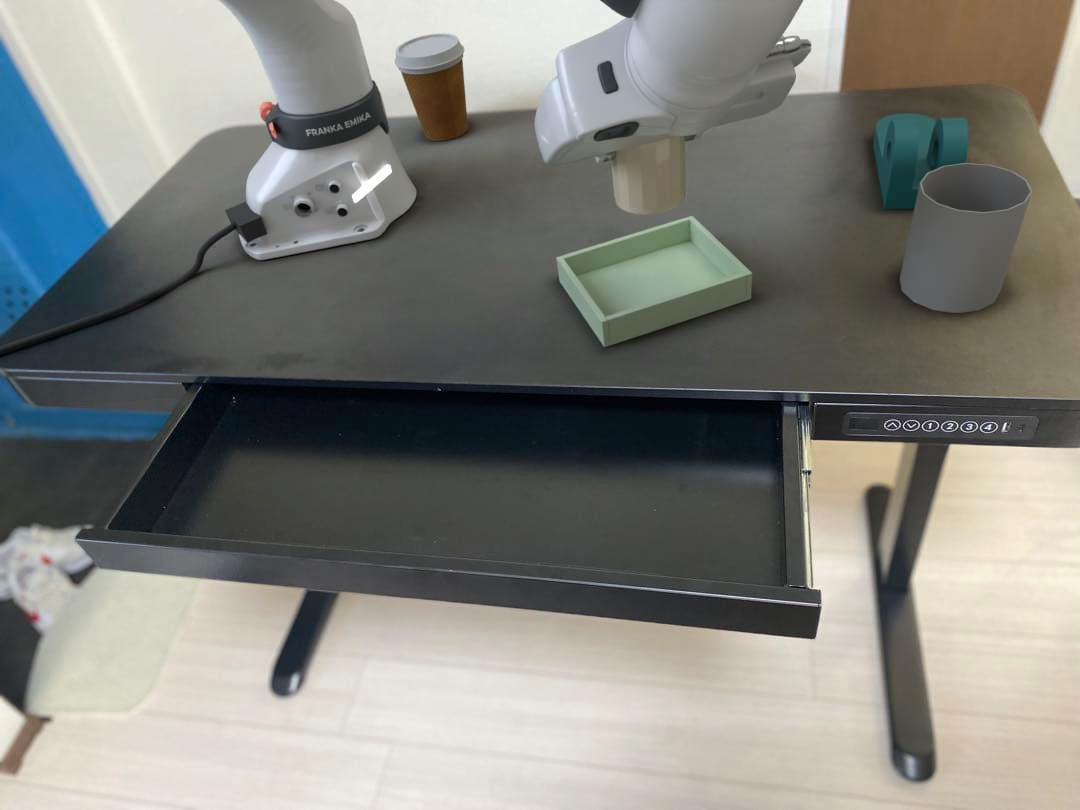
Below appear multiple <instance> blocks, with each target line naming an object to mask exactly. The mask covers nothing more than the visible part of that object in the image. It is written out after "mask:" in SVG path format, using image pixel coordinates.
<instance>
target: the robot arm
mask: <svg viewBox="0 0 1080 810" xmlns="http://www.w3.org/2000/svg"><path fill="white" fill-rule="evenodd" d="M218 1H219V2H220V3H221V4H222V5H223V6H225V8H226V9H227V10H228V11H230V13H231V14H232V15H233V16H234V17H235V18H236V20H237V21H238V22H239V24H240V25H241V26H242V28H243V29H244V31H245V32H246V33H247V35H248V37H249V38H250V40H251V42H252V44H253V46H254V48H255V50H256V52H257V55H258V57H259V59H260V62H261V65H262V67H263V70H264V72H265V74H266V76H267V79H268V82H269V84H270V87H271V89H272V92H273V94H274V97H275V100H276V104H275V103H273V102H271V101H263V102H262V103H261V104H260V105H259V106H260V107H259V108H258V109H259V115H260V118H261V120H262V121H263V122H264V123H265V125H266V128H267V131H268V134H269V136H270V139H271V140H272V142H270V144H269V146H268V147H267V148H266V150H265V151H264V153H263V154H262V155H261V156H260V158H259V159H258V161H257V162H256V163H255V165H254V166H253V167H252V168H251V170H250V172H249V174H248V175H247V179H246V183H245V200H246V201H244V202H241V203H239V204H236V205H234V206H231V207H229V208H227V209H224V211H225V214H226V216H227V218H228V220H229V222H230V224H228V225H227V226H226V227H224V228H222V229H221V230H219V231H218V232H217V233H215V234H213V235H212V236H210V238H207V240H206V241H205V242H204V243H203V244H202V246H200V248H199V250H198V251H197V254H196V258H195V262H194V264H193V266H192V267H190V269H189V270H188V271H186V272H185V273H184V274H183V275H182V276H180V277H179V278H177V279H176V280H174V281H172V282H171V283H169V284H167V285H165V286H162V287H160V288H158V289H155V290H153V291H150V292H147V293H144V294H143V295H140V296H138V297H135V298H133V299H130V300H129V301H126V302H124V303H122V304H119V305H117V306H114V307H112V308H108V309H106V310H103V311H100V312H98V313H94V314H92V315H88V316H85V317H82V318H79V319H76V320H74V321H71V322H68V323H64V324H62V325H59V326H56V327H53V328H50V329H48V330H47V329H46V330H44V331H42V332H38V333H36V334H32V335H30V336H29V335H28V336H27V337H23V338H20V339H18V340H14V341H11V342H8V343H5V344H3V345H0V355H1V354H3V353H6V352H11V351H13V350H16V349H18V348H22V347H25V346H29V345H31V344H35V343H36V342H37V343H38V342H40V341H42V340H45V339H48V338H51V337H54V336H58V335H60V334H64V333H65V332H69V331H72V330H74V329H75V330H76V329H77V328H81V327H82V326H86V325H89V324H92V323H95V322H99V321H101V320H104V319H108V318H110V317H113V316H115V315H118V314H120V313H123V312H126V311H128V310H130V309H132V308H135V307H137V306H140V305H142V304H144V303H146V302H148V301H151V300H153V299H156V298H158V297H161V296H163V295H165V294H167V293H169V292H171V291H173V290H174V289H176V288H178V287H179V286H181V285H182V284H184V283H186V282H188V281H189V280H190V279H192V278H193V277H195V275H196V274H197V273H198V272H199V271H200V269H201V267H202V265H203V263H204V258H205V255H206V254H207V251H209V249H210V248H211V247H212V246H213V245H215V244H216V243H217V242H218V241H220V240H221V239H223V238H225V237H226V236H228V235H229V234H231V233H232V232H233V231H236V232H237V233H238V236H239V241H240V243H241V246H242V248H243V250H244V251H245V253H246V254H247V255H248V256H249V257H251V258H252V259H255V260H257V261H265V260H271V259H274V258H280V257H286V256H291V255H296V254H301V253H302V254H303V253H307V252H312V251H317V250H322V249H327V248H332V247H338V246H343V245H348V244H352V243H353V244H354V243H359V242H363V241H364V242H365V241H370V240H374V239H377V238H378V237H381V235H383V233H385V231H386V230H387V229H388V227H389V225H390V224H391V223H393V222H394V221H396V219H398V218H399V217H401V216H402V215H404V214H405V213H407V211H408V210H409V209H410V208H411V207H412V206H413V204H414V203H415V201H416V199H417V194H418V193H417V189H416V186H415V185H414V182H412V180H411V179H410V177H409V175H408V173H407V171H406V170H405V168H404V166H403V164H402V162H401V160H400V158H399V155H398V152H397V151H396V148H395V146H394V143H393V140H392V138H391V136H390V126H389V123H390V122H389V118H388V115H387V110H386V107H385V103H384V99H383V96H382V93H381V90H379V87H378V85H377V82H376V81H375V80H373V78H372V75H371V71H370V68H369V67H370V66H369V64H368V60H367V56H366V53H365V50H364V46H363V43H362V39H361V36H360V32H359V28H358V24H357V21H356V18H355V17H354V15H353V14H352V12H350V10H349V9H348V8H347V7H346V6H345V5H344V4H342V3H340V2H338V1H337V0H218ZM599 1H600V2H602V4H604V5H605V6H607V7H608V8H609V9H610V10H612V11H613V12H615V13H616V14H618V15H619V16H622V17H624V18H623V19H621V20H620V21H619V22H617V23H616V24H613V25H612V26H610V27H608V28H607V29H605V30H603V31H601V32H599V33H596V34H594V35H593V36H589V37H588V38H586V39H583V40H581V41H579V42H576V43H574V44H571V45H568V46H566V47H564V48H562V49H561V50H560V51H559V52H558V53H557V54H556V57H555V68H556V76H555V77H553V78H552V79H551V80H550V81H549V82H548V83H547V86H545V88H544V89H543V91H542V94H541V95H540V96H541V97H540V99H539V102H538V105H537V108H536V112H535V117H534V131H535V137H536V140H537V144H538V149H539V151H540V154H541V157H542V160H543V163H544V164H546V165H548V166H552V167H556V166H557V167H559V166H561V165H567V164H569V163H573V162H577V161H581V160H585V159H590V158H593V157H594V159H595V162H596V163H597V164H602V163H606V162H611V160H614V157H615V155H616V151H618V150H622V149H626V148H631V147H635V146H639V145H643V144H647V143H651V142H655V141H659V140H663V139H667V138H671V137H675V136H685V143H686V142H690V141H695V140H698V139H700V137H701V136H702V134H703V133H706V132H707V131H709V130H711V129H712V128H716V127H719V126H724V125H728V124H732V123H736V122H740V121H744V120H748V119H752V118H756V117H759V116H764V115H767V114H769V113H771V112H773V111H774V110H776V109H778V108H779V107H781V105H783V103H784V101H785V100H786V98H787V97H788V95H789V94H790V92H791V90H792V88H793V87H794V85H795V82H796V78H797V73H796V69H795V68H796V67H798V66H799V65H801V64H802V63H803V62H804V61H805V59H806V58H807V57H808V56H809V55H810V53H811V52H812V42H811V41H810V40H809V39H808V38H801V37H800V36H799V35H788V36H784V34H785V33H786V31H787V30H788V28H789V26H790V24H791V23H792V21H793V20H794V19H795V16H796V15H797V12H798V11H799V9H800V7H801V6H802V4H803V2H804V0H599Z"/></svg>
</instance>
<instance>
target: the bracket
mask: <svg viewBox="0 0 1080 810" xmlns="http://www.w3.org/2000/svg"><path fill="white" fill-rule="evenodd" d="M872 142H873V143H872V146H873V153H874V157H875V164H876V169H877V175H878V180H879V185H880V192H881V196H882V202H883V208H884V210H914V208H915V204H916V199H917V194H918V189H919V185H920V182H921V181H922V179H923V178H924V177H925V175H926V174H927V173H928V172H931V171H933V170H935V169H938V168H940V167H942V166H947V165H955V164H962V163H967V158H968V151H969V150H968V149H969V125H968V121H967V118H966V117H941V118H940V117H939V118H937V119H934V118H932V117H930V116H928V115H923V114H920V113H908V112H905V113H895V114H891V115H890V114H889V115H887V116H885V117H882V118H880V119H879V120H878V121H877V122H876V124H875V130H874V135H873V141H872Z"/></svg>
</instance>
